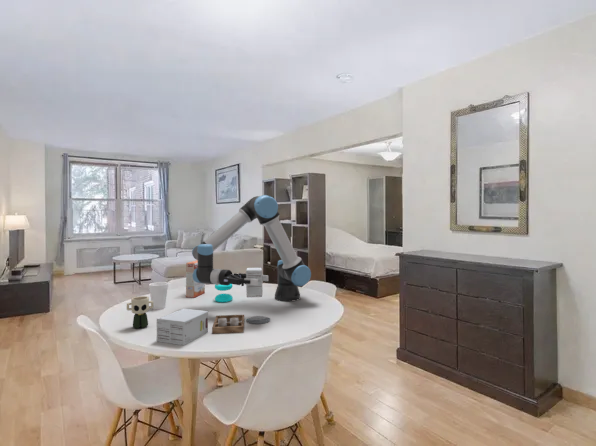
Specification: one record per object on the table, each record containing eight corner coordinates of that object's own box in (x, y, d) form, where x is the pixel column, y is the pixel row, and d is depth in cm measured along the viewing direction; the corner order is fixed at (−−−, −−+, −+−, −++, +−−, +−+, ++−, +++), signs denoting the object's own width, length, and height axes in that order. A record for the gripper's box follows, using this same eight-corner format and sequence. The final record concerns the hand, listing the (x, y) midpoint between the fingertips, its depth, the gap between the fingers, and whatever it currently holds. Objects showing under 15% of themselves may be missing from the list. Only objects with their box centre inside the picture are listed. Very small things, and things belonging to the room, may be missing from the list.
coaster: (269, 316, 176) (269, 315, 176) (270, 323, 165) (270, 322, 165) (246, 317, 175) (246, 316, 175) (246, 324, 164) (246, 323, 164)
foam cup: (172, 307, 194) (171, 283, 194) (158, 311, 186) (158, 286, 185) (158, 305, 198) (158, 281, 198) (145, 309, 190) (145, 284, 189)
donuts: (226, 281, 215) (235, 283, 207) (226, 297, 215) (235, 300, 208) (211, 283, 208) (220, 286, 201) (211, 300, 208) (220, 303, 201)
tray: (244, 319, 171) (244, 309, 171) (243, 332, 153) (243, 320, 153) (216, 320, 169) (216, 310, 169) (212, 333, 151) (212, 321, 151)
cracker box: (194, 298, 214) (194, 263, 213) (185, 297, 215) (185, 262, 215) (205, 293, 228) (205, 260, 227) (196, 292, 229) (196, 259, 228)
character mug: (126, 331, 155) (126, 301, 154) (127, 326, 161) (126, 297, 161) (154, 327, 159) (153, 298, 159) (153, 323, 166) (153, 295, 165)
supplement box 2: (247, 294, 172) (246, 267, 172) (262, 293, 173) (262, 267, 172) (246, 297, 165) (245, 270, 164) (262, 297, 165) (262, 269, 165)
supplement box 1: (184, 346, 138) (184, 321, 138) (156, 342, 142) (155, 318, 142) (208, 332, 154) (208, 310, 154) (183, 328, 158) (182, 307, 158)
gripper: (234, 280, 186) (273, 283, 177) (208, 289, 165) (250, 293, 157) (234, 266, 185) (273, 268, 177) (207, 273, 165) (250, 276, 156)
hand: (262, 280), depth 167 cm, fingers closed on supplement box 2, 9 cm apart
